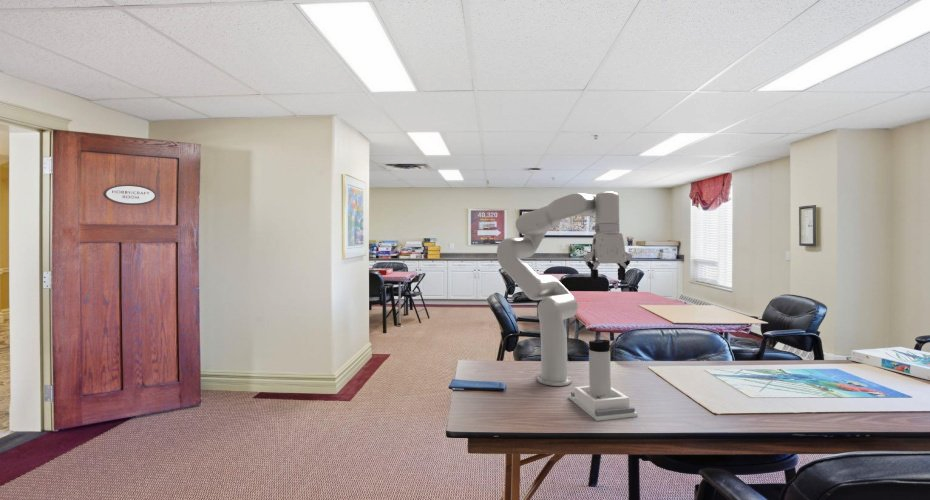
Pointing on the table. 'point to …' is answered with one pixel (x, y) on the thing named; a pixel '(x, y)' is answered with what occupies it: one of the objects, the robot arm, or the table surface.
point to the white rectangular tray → (603, 404)
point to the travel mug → (599, 369)
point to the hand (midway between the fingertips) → (608, 280)
